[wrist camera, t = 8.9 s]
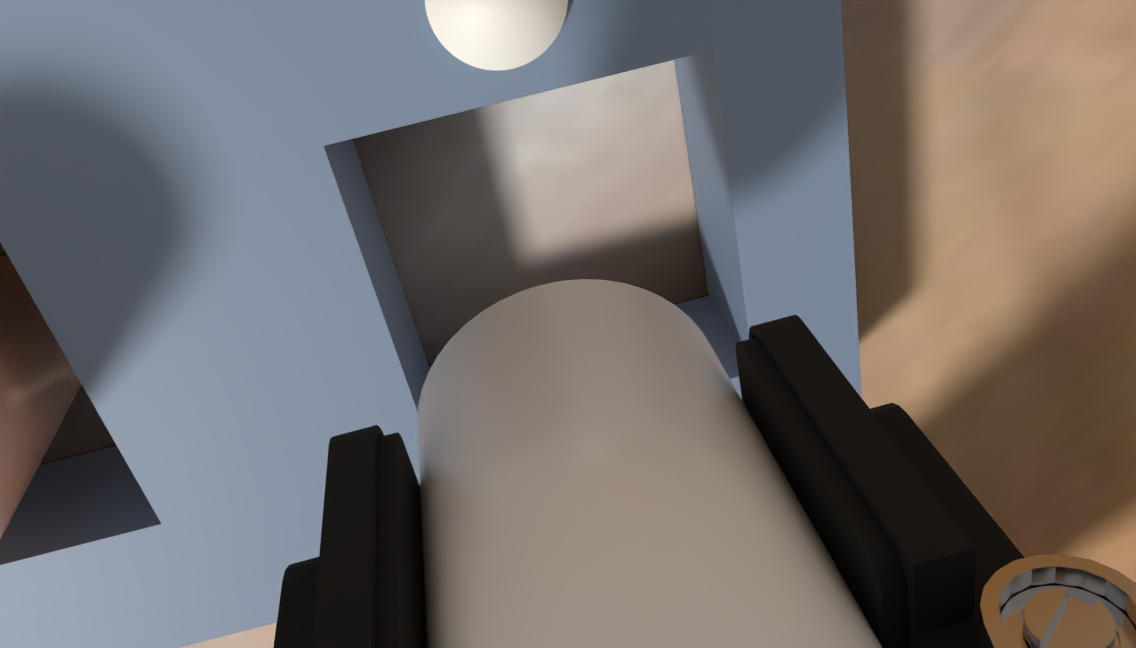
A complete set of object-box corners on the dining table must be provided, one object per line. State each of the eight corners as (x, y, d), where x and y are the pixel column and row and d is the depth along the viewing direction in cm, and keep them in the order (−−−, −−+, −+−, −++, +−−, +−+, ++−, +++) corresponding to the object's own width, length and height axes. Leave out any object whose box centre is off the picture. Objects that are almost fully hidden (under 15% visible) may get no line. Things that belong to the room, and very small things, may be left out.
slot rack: (760, -209, 15) (836, -205, 13) (810, 386, 22) (869, 476, 19) (-540, 103, 15) (-753, 177, 12) (-109, 622, 21) (-185, 749, 18)
